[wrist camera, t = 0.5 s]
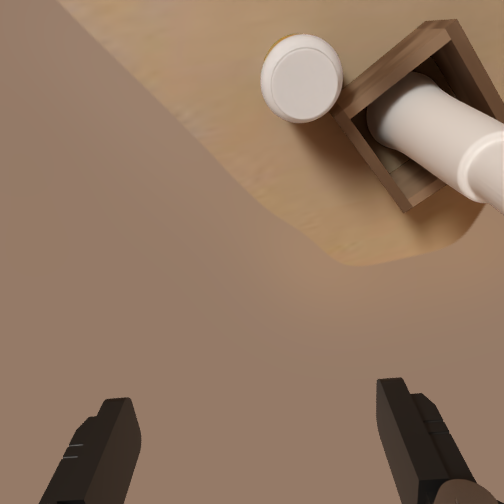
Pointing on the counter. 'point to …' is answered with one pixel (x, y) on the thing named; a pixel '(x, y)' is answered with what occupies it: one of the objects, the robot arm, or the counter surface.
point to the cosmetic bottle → (442, 137)
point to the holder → (394, 69)
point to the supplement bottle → (301, 78)
